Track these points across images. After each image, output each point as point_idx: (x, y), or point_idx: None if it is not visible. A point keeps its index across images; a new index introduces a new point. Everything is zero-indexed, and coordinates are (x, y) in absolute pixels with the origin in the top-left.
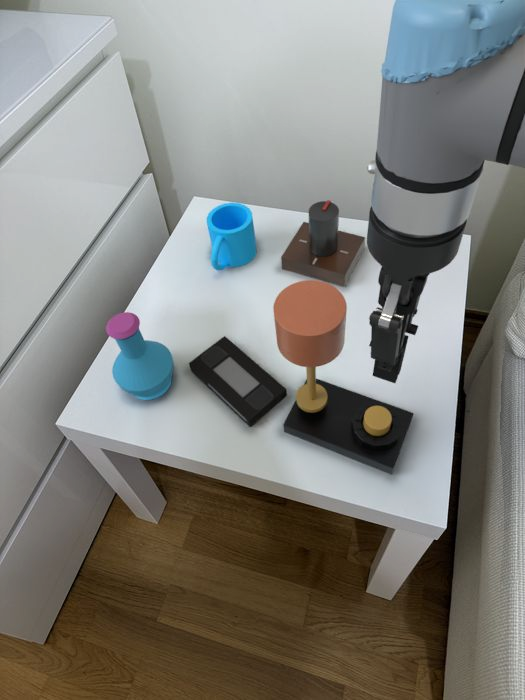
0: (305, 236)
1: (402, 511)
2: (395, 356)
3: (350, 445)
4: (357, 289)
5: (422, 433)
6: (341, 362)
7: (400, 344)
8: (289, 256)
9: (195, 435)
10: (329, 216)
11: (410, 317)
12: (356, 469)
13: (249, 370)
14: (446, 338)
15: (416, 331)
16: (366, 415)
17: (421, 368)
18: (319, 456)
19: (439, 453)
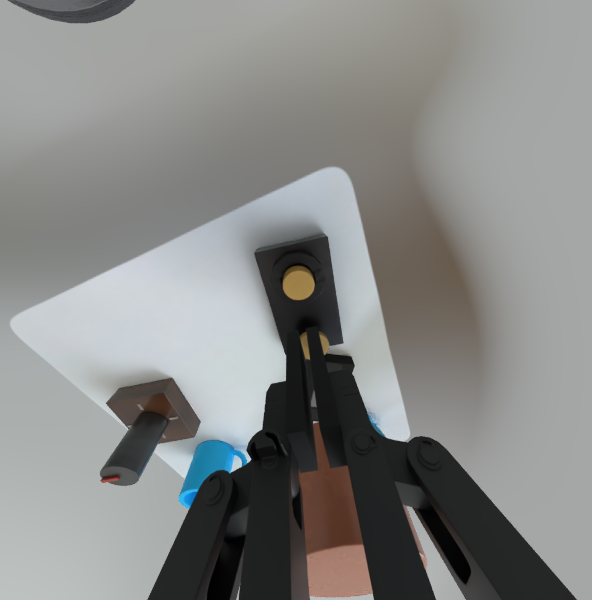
0: None
1: (354, 202)
2: (516, 537)
3: (328, 286)
4: (164, 368)
5: (262, 231)
6: (246, 336)
7: (402, 507)
8: (188, 433)
9: (379, 380)
10: (120, 470)
11: (291, 572)
12: (338, 265)
13: (311, 390)
14: (138, 270)
15: (262, 435)
16: (304, 296)
17: (193, 273)
18: (344, 299)
19: (271, 202)
